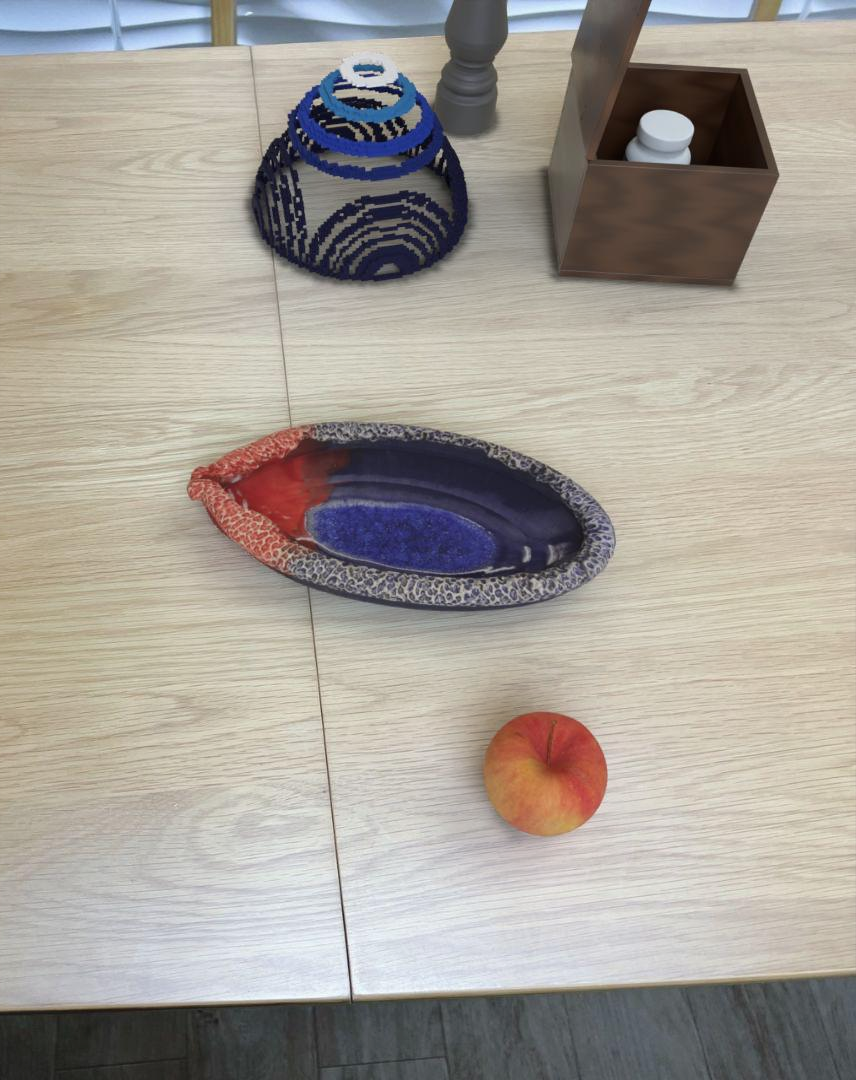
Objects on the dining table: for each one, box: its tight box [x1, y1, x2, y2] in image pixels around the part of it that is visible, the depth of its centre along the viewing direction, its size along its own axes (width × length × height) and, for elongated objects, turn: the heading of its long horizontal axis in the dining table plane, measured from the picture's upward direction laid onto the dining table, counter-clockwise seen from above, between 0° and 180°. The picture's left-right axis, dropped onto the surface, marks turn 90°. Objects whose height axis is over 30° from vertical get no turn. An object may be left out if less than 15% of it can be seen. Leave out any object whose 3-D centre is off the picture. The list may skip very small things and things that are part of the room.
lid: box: [570, 0, 653, 160], centre depth 87 cm, size 16×16×1 cm
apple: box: [482, 711, 609, 837], centre depth 66 cm, size 7×7×8 cm
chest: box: [547, 61, 780, 287], centre depth 98 cm, size 16×16×12 cm
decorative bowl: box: [251, 51, 469, 283], centre depth 98 cm, size 20×20×14 cm
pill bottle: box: [623, 110, 694, 165], centre depth 99 cm, size 6×6×10 cm
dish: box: [186, 421, 617, 612], centre depth 79 cm, size 16×31×5 cm, turn 78°
